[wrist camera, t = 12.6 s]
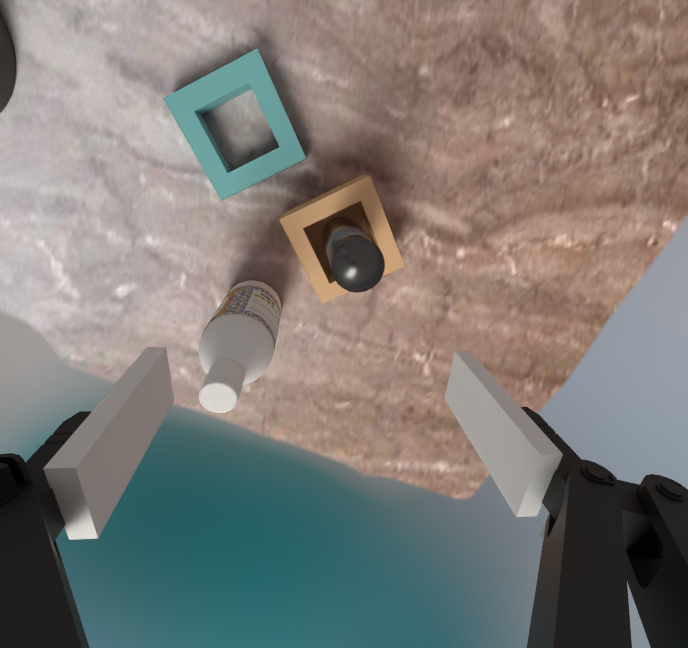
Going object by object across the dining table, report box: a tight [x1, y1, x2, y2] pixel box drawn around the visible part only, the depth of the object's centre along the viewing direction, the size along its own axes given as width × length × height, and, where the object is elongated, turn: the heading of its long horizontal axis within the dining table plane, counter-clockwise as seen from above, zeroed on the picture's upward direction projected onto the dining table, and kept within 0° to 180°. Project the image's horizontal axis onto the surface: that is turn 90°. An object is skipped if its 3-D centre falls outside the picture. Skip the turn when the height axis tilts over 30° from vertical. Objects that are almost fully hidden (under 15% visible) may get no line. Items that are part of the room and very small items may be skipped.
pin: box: [322, 217, 385, 292], centre depth 35 cm, size 4×4×14 cm
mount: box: [163, 49, 306, 200], centre depth 36 cm, size 10×10×2 cm
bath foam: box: [199, 280, 281, 413], centre depth 36 cm, size 7×7×20 cm
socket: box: [279, 175, 404, 304], centre depth 39 cm, size 10×10×6 cm
